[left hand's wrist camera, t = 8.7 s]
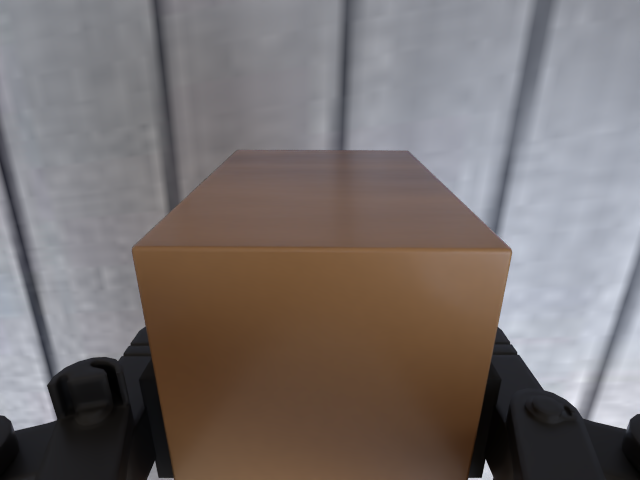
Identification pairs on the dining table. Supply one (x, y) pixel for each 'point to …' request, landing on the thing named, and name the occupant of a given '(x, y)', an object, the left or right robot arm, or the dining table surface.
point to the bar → (321, 319)
